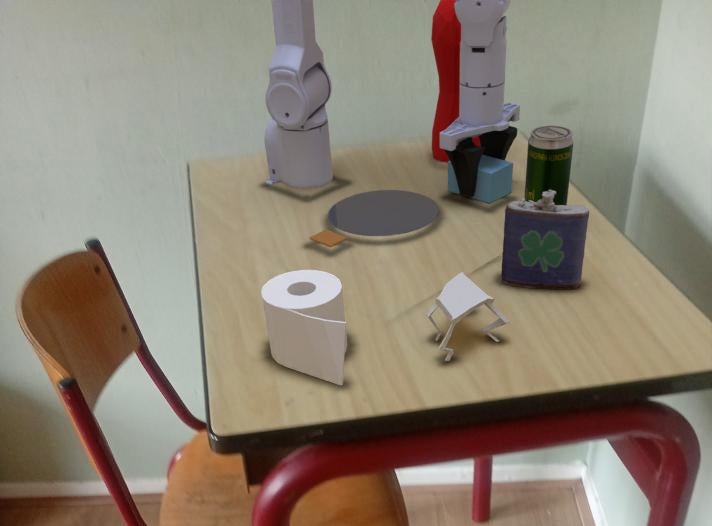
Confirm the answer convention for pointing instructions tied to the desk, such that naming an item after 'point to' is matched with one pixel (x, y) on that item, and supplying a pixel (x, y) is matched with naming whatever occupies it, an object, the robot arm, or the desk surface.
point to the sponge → (487, 179)
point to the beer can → (549, 163)
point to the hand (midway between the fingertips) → (478, 188)
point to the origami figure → (463, 306)
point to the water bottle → (446, 72)
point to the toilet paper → (307, 323)
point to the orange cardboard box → (328, 238)
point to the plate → (383, 213)
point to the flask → (544, 243)
